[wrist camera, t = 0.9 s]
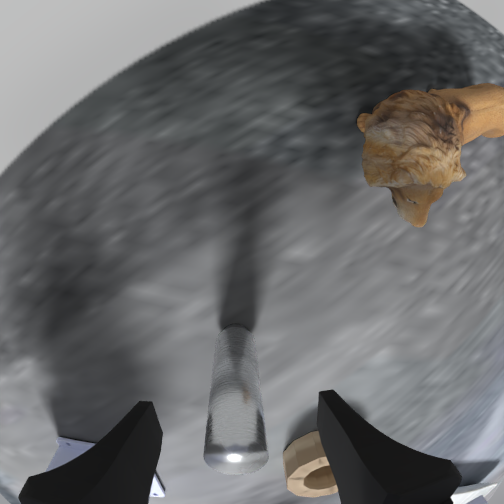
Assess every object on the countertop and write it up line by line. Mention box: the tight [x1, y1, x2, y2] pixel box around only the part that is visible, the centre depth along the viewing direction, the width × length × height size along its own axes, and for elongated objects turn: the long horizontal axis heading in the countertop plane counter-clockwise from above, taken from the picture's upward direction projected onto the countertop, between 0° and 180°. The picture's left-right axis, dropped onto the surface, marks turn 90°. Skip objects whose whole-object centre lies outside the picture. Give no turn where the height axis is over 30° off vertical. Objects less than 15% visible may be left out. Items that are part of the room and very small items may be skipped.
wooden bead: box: [283, 431, 338, 497], centre depth 21 cm, size 6×6×3 cm
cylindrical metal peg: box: [204, 324, 269, 475], centre depth 14 cm, size 2×2×10 cm
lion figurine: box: [357, 83, 504, 227], centre depth 13 cm, size 15×5×9 cm, turn 122°
